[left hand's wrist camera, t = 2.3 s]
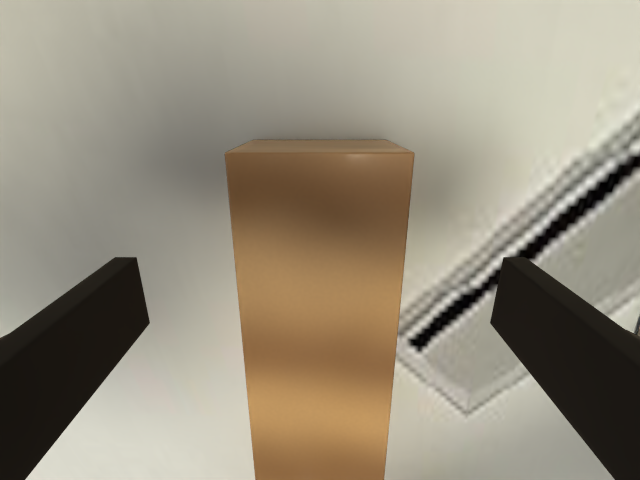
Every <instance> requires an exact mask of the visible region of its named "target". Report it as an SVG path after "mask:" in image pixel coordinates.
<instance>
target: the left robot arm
mask: <svg viewBox="0 0 640 480" xmlns="http://www.w3.org/2000/svg"><path fill="white" fill-rule="evenodd" d="M149 323H150V322H149V317H148V312H147V307H146V302H145V297H144V292H143V287H142V282H141V277H140V272H139V267H138V262H137V258H136V257H115V258H114V259H112V260H111V261H109V262H108V263H107V264H105V265H104V266H102V267H101V268H100V269H98V270H97V271H95V272H94V273H93V274H91V275H90V276H89V277H87V278H86V279H84V280H83V281H82V282H80V283H79V284H77V285H76V286H75V287H73V288H72V289H71V290H69V291H68V292H66V293H65V294H64V295H62V296H61V297H59V298H58V299H57V300H55V301H54V302H53V303H51V304H50V305H48V306H47V307H46V308H44V309H43V310H41V311H40V312H39V313H37V314H36V315H35V316H33V317H32V318H30V319H29V320H28V321H26V322H25V323H23V324H22V325H21V326H19V327H18V328H17V329H15V330H14V331H12V332H11V333H9V334H7V335H5V336H3V337H1V338H0V480H25V479H26V478H27V477H28V475H29V474H30V473H31V472H32V470H33V469H34V468H35V467H36V465H37V464H38V463H39V461H40V460H41V459H42V458H43V456H44V455H45V454H46V453H47V451H48V450H49V449H50V448H51V446H52V445H53V444H54V443H55V441H56V440H57V439H58V438H59V436H60V435H61V434H62V433H63V431H64V430H65V429H66V428H67V426H68V425H69V424H70V423H71V421H72V420H73V419H74V418H75V416H76V415H77V414H78V413H79V411H80V410H81V409H82V408H83V406H84V405H85V404H86V402H87V401H88V400H89V399H90V397H91V396H92V395H93V394H94V392H95V391H96V390H97V389H98V387H99V386H100V385H101V384H102V382H103V381H104V380H105V379H106V377H107V376H108V375H109V374H110V372H111V371H112V370H113V369H114V367H115V366H116V365H117V364H118V362H119V361H120V360H121V359H122V357H123V356H124V355H125V354H126V352H127V351H128V350H129V349H130V347H131V346H132V345H133V343H134V342H135V341H136V340H137V338H138V337H139V336H140V335H141V333H142V332H143V331H144V330H145V328H146V327H147V326H148V325H149ZM490 323H491V325H492V326H493V327H494V328H495V330H496V331H497V332H498V333H499V335H500V336H501V337H502V338H503V340H504V341H505V342H506V343H507V345H508V346H509V347H510V349H511V350H512V351H513V352H514V354H515V355H516V356H517V357H518V359H519V360H520V361H521V362H522V364H523V365H524V366H525V367H526V369H527V370H528V371H529V372H530V374H531V375H532V376H533V377H534V379H535V380H536V381H537V382H538V384H539V385H540V386H541V387H542V389H543V390H544V391H545V392H546V394H547V395H548V396H549V397H550V399H551V400H552V401H553V402H554V404H555V405H556V406H557V408H558V409H559V410H560V411H561V413H562V414H563V415H564V416H565V418H566V419H567V420H568V421H569V423H570V424H571V425H572V426H573V428H574V429H575V430H576V431H577V433H578V434H579V435H580V436H581V438H582V439H583V440H584V441H585V443H586V444H587V445H588V446H589V448H590V449H591V450H592V451H593V453H594V454H595V455H596V456H597V458H598V459H599V460H600V461H601V463H602V464H603V465H604V467H605V468H606V469H607V470H608V472H609V473H610V474H611V475H612V477H613V478H614V479H615V480H640V336H638V335H636V334H634V333H632V332H630V331H628V330H625V329H623V328H622V327H621V326H619V325H618V324H617V323H615V322H614V321H612V320H611V319H610V318H608V317H607V316H605V315H604V314H603V313H601V312H600V311H599V310H597V309H596V308H594V307H593V306H592V305H590V304H589V303H587V302H586V301H585V300H583V299H582V298H581V297H579V296H578V295H576V294H575V293H574V292H572V291H571V290H569V289H568V288H567V287H565V286H564V285H563V284H561V283H560V282H558V281H557V280H556V279H554V278H553V277H551V276H550V275H549V274H547V273H546V272H545V271H543V270H542V269H540V268H539V267H538V266H536V265H535V264H533V263H532V262H531V261H529V260H528V259H526V258H525V257H504V258H503V262H502V267H501V272H500V277H499V282H498V287H497V292H496V297H495V302H494V307H493V312H492V317H491V322H490Z"/></svg>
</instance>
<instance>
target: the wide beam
mask: <svg viewBox="0 0 640 480" xmlns="http://www.w3.org/2000/svg"><path fill="white" fill-rule="evenodd" d="M225 162H226V173H227V184H228V194H229V205H230V215H231V226H232V236H233V247H234V258H235V268H236V279H237V289H238V300H239V311H240V321H241V332H242V342H243V353H244V363H245V374H246V385H247V395H248V406H249V416H250V427H251V437H252V448H253V459H254V469H255V480H384V473H385V462H386V452H387V441H388V430H389V420H390V409H391V398H392V388H393V377H394V366H395V356H396V345H397V334H398V324H399V313H400V302H401V292H402V281H403V270H404V260H405V249H406V238H407V228H408V217H409V206H410V196H411V185H412V174H413V164H414V152H411V151H409V150H407V149H405V148H403V147H401V146H398V145H396V144H394V143H392V142H390V141H388V140H252V141H250V142H247V143H245V144H243V145H241V146H239V147H236V148H234V149H232V150H230V151H228V152H225Z"/></svg>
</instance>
